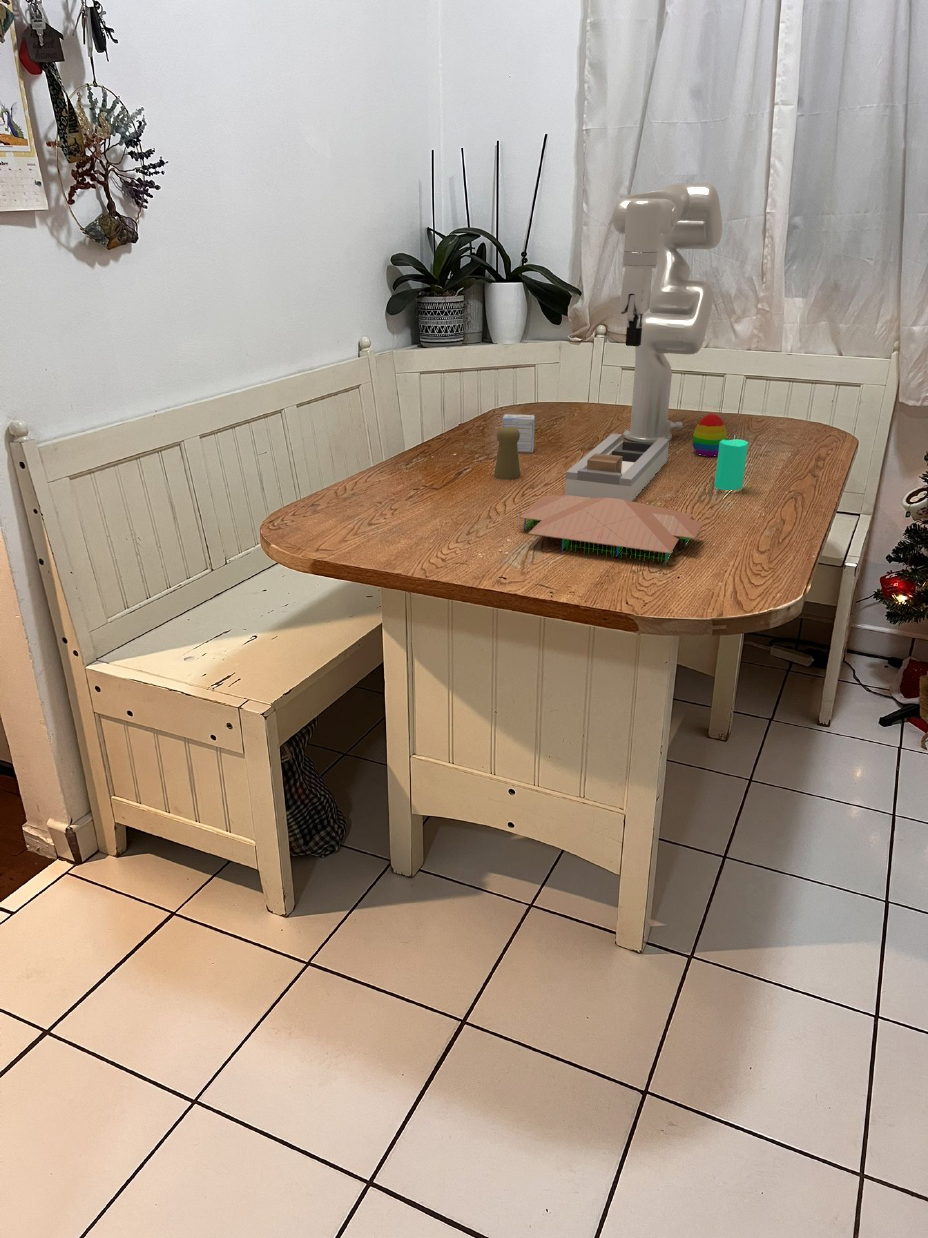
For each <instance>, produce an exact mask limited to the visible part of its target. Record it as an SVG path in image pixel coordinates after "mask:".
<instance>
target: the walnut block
mask: <svg viewBox="0 0 928 1238" xmlns="http://www.w3.org/2000/svg"><path fill="white" fill-rule="evenodd" d="M622 457H623V456H615V455H606V454H597V453H595V454H594V455H593V456H591V457H590V458H589V459H588V460H587V469H589V470H598V471H607V472H616V473H621V470H622Z"/></svg>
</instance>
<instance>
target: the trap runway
mask: <svg viewBox="0 0 928 1238" xmlns="http://www.w3.org/2000/svg"><path fill="white" fill-rule="evenodd" d="M669 445H670V440H669V439H663V438H659V439H658V440H657V441H656V442H655V443H645V442H636V441H632V440H623V434H619V433H611V434H610V435H608V437H606V438H605V439H603V441H601V442H600V443H599V444H598V445H596V446H595V447H594V448H593V449H591V450H590V451H589V452H588V453H586V454H585V455H584V456H583V457H582V458H581V459H580V460H578V461H577V462H576V463H575V464H573V466H571V467H570V468H569V469H568V470H566V471H565V486H564V487H565V488H564V495H571V496H579V497H587V498H615V499H623V500H628V501H633V502H634V500H635V499H636V498H637V497H638V496H639V495H640V494H641V492H643V490H644V489H645V488H646V486H647V485H649V483H650V482H651V481H652V479H653V478H655V476H656V475H657V474H658V473H659V472H660V470H662V468H663V467H664V466H665V465H664V464H667V463H668V457H669V456H668V454H669V447H670V446H669ZM595 453H597V454H606V455H615V456H623V457H622V470H621V473H616V472H607V471H598V470H589V469H587V460H588V459H589V458H590V457H591V456H593V455H594V454H595ZM663 465H664V466H663ZM662 466H663V467H662ZM661 467H662V468H661ZM657 472H658V473H657ZM656 473H657V474H656ZM655 474H656V475H655ZM650 480H651V481H650ZM644 487H645V488H644ZM642 489H643V490H642ZM638 494H639V495H638ZM636 496H637V497H636Z"/></svg>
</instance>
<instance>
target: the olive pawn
mask: <svg viewBox="0 0 928 1238" xmlns="http://www.w3.org/2000/svg"><path fill="white" fill-rule="evenodd" d="M519 438H520V433H519V431H518V429H516V428H513V427H503V428H502V427H500V428H499V429H498V430H497V433H496V439H497V442H498V448H497V455H496V459H495V467H494V473H493V476H494V478H496V479H501V480H515V479H519V478H520V477H521V469H520V457H519V452H518V446H517V442H518V441H519Z"/></svg>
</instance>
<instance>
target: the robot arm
mask: <svg viewBox="0 0 928 1238" xmlns="http://www.w3.org/2000/svg"><path fill="white" fill-rule="evenodd" d="M721 212H722V211H721V203H720V197H719V194H718V191H717V189H716V188H715V186H713V184H711V183H673V184H669V185H667V186H665V187H664V188H662V189H657V190H651V191H646V192H640V193H632V194H628V195H624V196H623V197H621V198H620V199H618V201H617V202H616V204H615V206H614V208H613V212H612V224H613V228H614V230H615V231H616V232H617V233H618V234H620V235H624V238H623V239H624V241H623V252H622V254H623V255H622V265H621V267H622V268H624V271H623V277H622V282H621V283H622V284H621V292H620V300H619V301H620V302H619V310H618V311H619V314H620V315H624V314H625V315H626V314H627V316H626V331H625V332H626V333H625V346H627V347H634V351H635V354H634V355H635V357H634V358H635V359H634V377H633V386H632V387H633V388H632V398H631V399H632V400H631V401H632V402H631V413H630V426H629V429H626V430H624V432H623V438H624V439H626V440H627V441H632V442H641V443H651V444H654V443H655V442H656V441H657V440H658V439H659V438H663V439H669V441H671V440H672V438H673V437H672V433H671V432H672V431H673V430H681V429H682V428H683V422H682V421H674V422H673V421H672V420H670V419H669V416H668V415H669V407H670V396H671V386H672V377H673V370H672V366H671V364H670V362H669V360H668V359H667V356H666V355H665V354H671V355H672V354H673V355H674V354H676V355H695V354H697V353H698V352H699V351H700V350H701V349H702V346H703V344H704V341H705V337H706V334H707V329H708V325H709V321H710V316H711V313H712V308H713V303H714V302H713V300H714V292H713V288H712V287H711V284H710V283H708V282H707V281H704V280H703V281H702V280H693V279H691V280H689V279H690V275H691V269H690V266H689V263H688V262H687V260H686V258H684V256H683V254H681V253H680V252H679V251H678V249H679V250H680V249H681V250H683V249H684V250H712V249H714V248H717V246H718V245H719V243H720V241H721V239H722V235H723V221H722V213H721ZM653 269H657V270H656V273H655V277H654V280H653V285H652V277H653V275H652V273H653ZM648 311H650V312H649V313H646V312H648ZM645 313H646V314H645Z"/></svg>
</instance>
